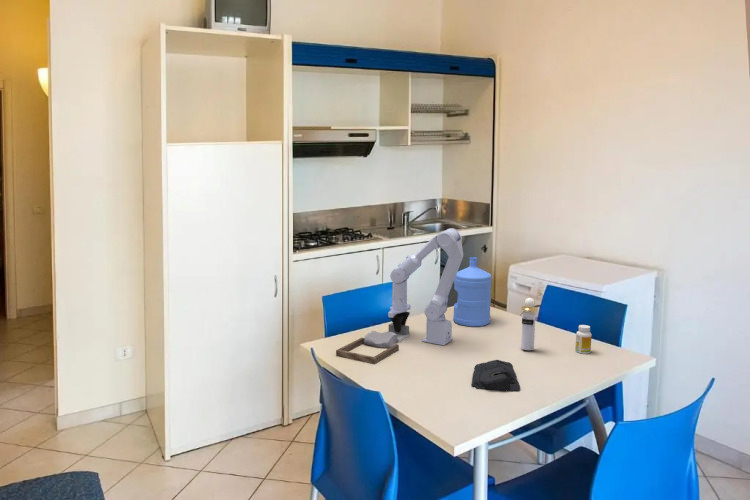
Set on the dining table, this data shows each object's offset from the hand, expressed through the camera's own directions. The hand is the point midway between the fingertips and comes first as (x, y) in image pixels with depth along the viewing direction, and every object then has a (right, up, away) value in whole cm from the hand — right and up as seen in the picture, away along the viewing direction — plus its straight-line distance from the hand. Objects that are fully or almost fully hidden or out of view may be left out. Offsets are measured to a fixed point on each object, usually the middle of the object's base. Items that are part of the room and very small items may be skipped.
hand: (399, 330), depth 252 cm
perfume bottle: (+47, -5, -16) cm, 50 cm away
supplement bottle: (+67, -6, -18) cm, 70 cm away
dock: (-12, -5, -19) cm, 23 cm away
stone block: (-8, -4, -9) cm, 13 cm away
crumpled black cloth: (+30, -11, -44) cm, 54 cm away
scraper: (-2, -2, -2) cm, 4 cm away
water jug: (+32, +1, +19) cm, 37 cm away
